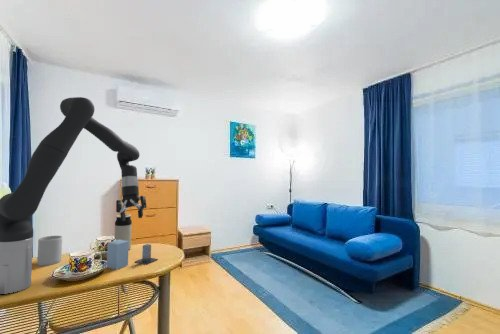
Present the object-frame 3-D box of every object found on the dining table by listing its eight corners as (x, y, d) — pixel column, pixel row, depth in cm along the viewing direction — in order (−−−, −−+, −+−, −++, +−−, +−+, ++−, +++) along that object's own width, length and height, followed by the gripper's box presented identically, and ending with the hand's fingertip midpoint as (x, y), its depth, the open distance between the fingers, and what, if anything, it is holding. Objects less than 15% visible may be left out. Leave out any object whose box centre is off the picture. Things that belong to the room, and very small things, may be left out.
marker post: (146, 264, 111) (146, 248, 111) (134, 262, 114) (135, 246, 114) (157, 259, 118) (158, 244, 118) (146, 257, 120) (147, 242, 120)
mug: (59, 264, 110) (60, 239, 110) (34, 267, 106) (35, 241, 106) (64, 255, 120) (65, 233, 121) (42, 258, 116) (43, 234, 117)
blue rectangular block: (116, 269, 105) (117, 244, 105) (106, 267, 107) (107, 242, 107) (127, 265, 110) (128, 241, 111) (118, 263, 112) (119, 239, 113)
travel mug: (134, 247, 135) (135, 214, 136) (122, 252, 127) (123, 217, 128) (122, 246, 137) (123, 213, 138) (110, 250, 130) (111, 216, 130)
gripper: (111, 188, 120) (113, 222, 117) (139, 182, 119) (141, 217, 116) (121, 189, 127) (123, 221, 124) (147, 184, 126) (149, 217, 123)
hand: (132, 219), depth 120 cm, fingers open, 8 cm apart
